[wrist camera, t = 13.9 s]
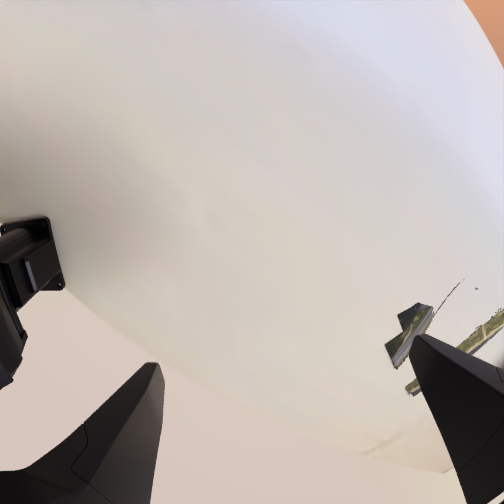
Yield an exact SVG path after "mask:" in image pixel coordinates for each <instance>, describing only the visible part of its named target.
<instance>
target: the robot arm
mask: <svg viewBox="0 0 504 504" xmlns="http://www.w3.org/2000/svg"><path fill="white" fill-rule="evenodd" d="M43 221H44V222H45V225H44V223H43ZM4 229H5V231H4ZM0 233H1V237H0V390H1V389H2V388H3V387H5V386H7V385H8V384H10V383H12V382H13V378H12V377H13V375H14V374H15V372H16V370H17V368H18V367H19V366H20V364H21V362H22V359H23V358H22V356H21V354H22V352H23V349H24V346H25V343H26V340H27V338H28V336H27V333H26V331H25V330H24V329H23V327H22V325H21V323H20V320H19V318H18V315H17V312H18V310H19V309H20V308H21V307H23V306H24V305H25V304H26V303H27V302H28V301H29V300H30V299H31V298H32V297H33V296H34V295H35V294H36V293H37V292H39V291H54V290H55V291H60V290H62V289H63V288H64V287H65V281H64V278H63V274H62V271H61V267H60V263H59V259H58V255H57V251H56V247H55V243H54V239H53V234H52V230H51V225H50V220H49V219H48V217H45V216H44V217H38V218H32V219H27V220H21V221H16V222H11V223H5V224H3V225H1V226H0ZM59 283H60V285H61V286H60V285H59ZM409 359H410V362H411V364H412V367H413V370H414V372H415V375H416V378H417V380H418V383H419V386H420V389H421V391H422V393H423V395H424V397H425V400H426V402H427V404H428V406H429V408H430V410H431V412H432V415H433V417H434V419H435V421H436V424H437V426H438V428H439V431H440V433H441V435H442V438H443V440H444V442H445V445H446V447H447V450H448V452H449V455H450V457H451V460H452V462H453V465H454V468H455V470H456V472H457V476H458V479H459V482H460V485H461V487H462V490H463V493H464V496H465V499H466V503H467V504H487V503H489V502H490V501H491V500H493V499H494V498H496V497H497V496H498V495H500V494H501V493H502V492H504V370H502V369H500V368H498V367H495V366H494V365H491V364H489V363H487V362H485V361H483V360H481V359H479V358H476V357H474V356H472V355H470V354H468V353H466V352H464V351H462V350H459V349H457V348H455V347H453V346H451V345H449V344H447V343H444V342H442V341H440V340H438V339H436V338H434V337H432V336H430V335H427V334H425V333H422V334H418V335H415V337H414V338H413V341H412V344H411V347H410V350H409ZM164 390H165V382H164V378H163V374H162V372H161V368H160V365H159V364H158V363H156V362H147V363H145V364H144V365H143V366H142V367H141V368H140V369H139V370H138V371H137V372H136V373H135V374H134V375H133V376H132V377H131V378H130V379H129V380H127V381H126V382H125V383H124V384H123V385H122V386H121V387H120V388H119V389H118V390H117V391H116V392H115V393H114V394H113V395H112V396H111V397H110V398H109V399H108V400H107V401H105V403H103V405H101V406H100V407H99V408H98V409H97V410H96V411H95V412H94V413H93V414H92V415H91V416H90V417H89V418H88V419H87V420H86V421H85V422H84V424H81V426H79V427H78V428H77V429H76V430H75V431H74V432H73V433H72V434H71V435H70V436H68V437H67V438H66V439H65V440H64V441H62V442H61V443H60V444H59V445H57V446H56V447H55V448H54V449H52V450H51V451H49V452H48V453H47V454H45V455H44V456H43V457H41V458H40V459H39V460H37V461H36V462H35V463H33V464H32V465H30V466H28V467H26V468H24V469H21V470H15V471H0V504H150V499H151V492H152V485H153V478H154V470H155V465H156V459H157V452H158V446H159V441H160V435H161V429H162V421H163V405H164ZM499 504H504V500H503V501H502V502H500V503H499Z"/></svg>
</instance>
